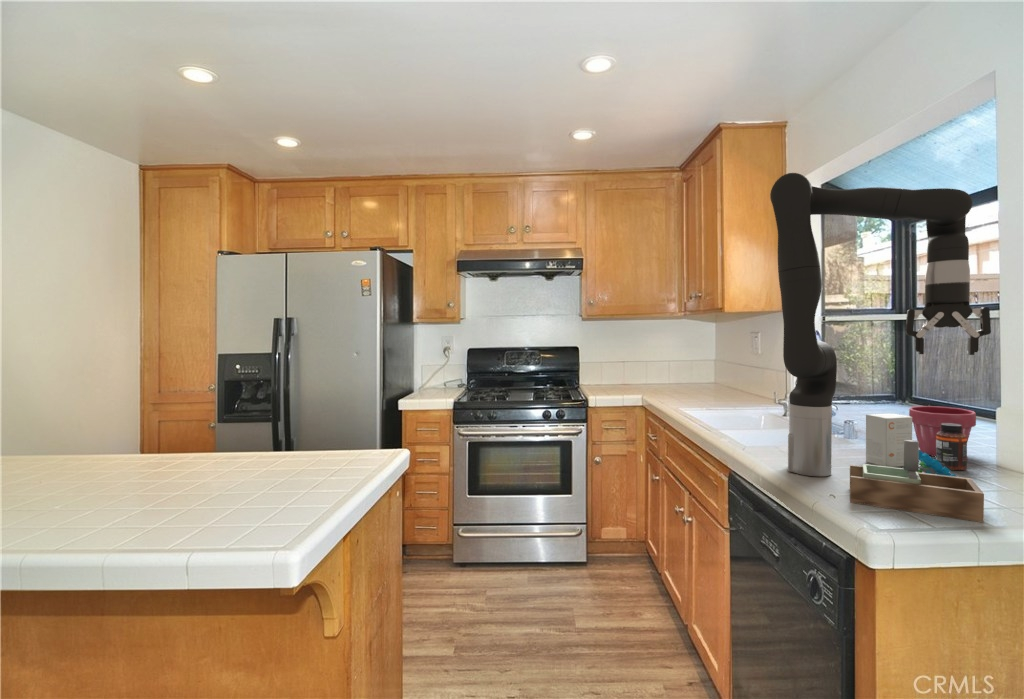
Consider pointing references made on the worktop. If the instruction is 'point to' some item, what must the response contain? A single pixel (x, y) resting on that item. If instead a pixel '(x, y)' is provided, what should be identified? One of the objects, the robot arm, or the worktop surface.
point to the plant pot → (938, 423)
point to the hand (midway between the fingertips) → (945, 354)
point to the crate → (898, 474)
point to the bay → (920, 495)
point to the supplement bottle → (951, 447)
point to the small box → (887, 438)
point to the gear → (932, 465)
